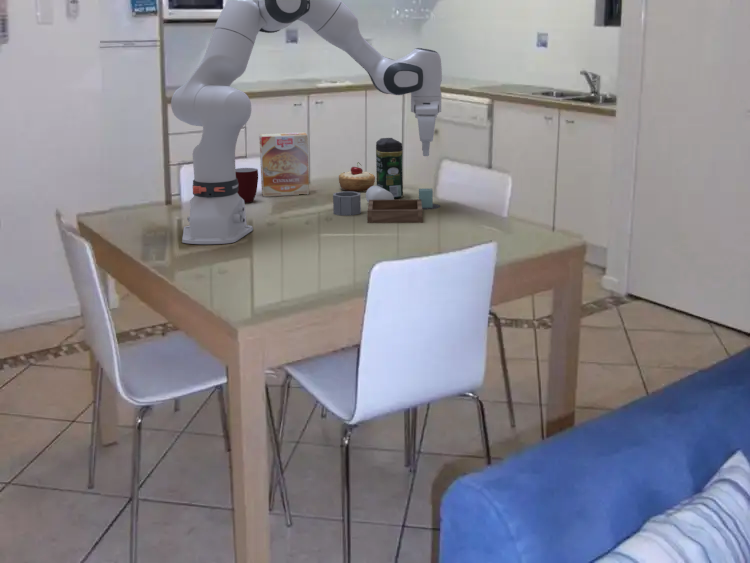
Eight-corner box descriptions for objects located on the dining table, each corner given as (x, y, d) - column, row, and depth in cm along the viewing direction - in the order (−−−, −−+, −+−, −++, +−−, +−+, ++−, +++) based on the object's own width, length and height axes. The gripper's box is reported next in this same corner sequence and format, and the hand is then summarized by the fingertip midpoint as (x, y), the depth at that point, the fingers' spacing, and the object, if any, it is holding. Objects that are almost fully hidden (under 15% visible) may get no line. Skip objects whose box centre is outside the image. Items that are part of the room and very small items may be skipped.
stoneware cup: (360, 217, 264) (359, 196, 262) (333, 217, 264) (332, 196, 263) (361, 211, 272) (360, 191, 270) (334, 211, 272) (334, 191, 270)
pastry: (334, 192, 301) (333, 165, 299) (345, 185, 312) (344, 159, 310) (369, 193, 298) (368, 166, 295) (379, 187, 309) (378, 160, 306)
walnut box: (422, 224, 254) (422, 210, 253) (367, 224, 255) (367, 210, 254) (421, 212, 269) (421, 199, 268) (369, 213, 269) (369, 199, 268)
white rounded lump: (396, 206, 274) (391, 187, 272) (377, 213, 272) (372, 194, 270) (386, 201, 282) (381, 182, 280) (368, 207, 281) (363, 189, 279)
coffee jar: (374, 194, 296) (373, 136, 291) (397, 193, 298) (397, 135, 293) (380, 200, 287) (380, 140, 282) (405, 199, 289) (405, 139, 283)
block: (432, 207, 273) (432, 191, 271) (419, 207, 273) (419, 191, 271) (432, 204, 277) (432, 188, 275) (418, 204, 277) (418, 188, 275)
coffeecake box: (263, 197, 294) (260, 136, 289) (261, 193, 301) (258, 133, 295) (309, 194, 297) (307, 134, 292) (306, 190, 304) (304, 131, 299)
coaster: (441, 211, 270) (441, 209, 270) (410, 211, 271) (410, 209, 271) (439, 205, 279) (439, 203, 279) (410, 205, 279) (410, 203, 279)
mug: (221, 203, 286) (219, 171, 283) (233, 198, 293) (231, 167, 290) (252, 204, 283) (251, 172, 280) (263, 199, 290) (262, 168, 287)
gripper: (414, 102, 276) (414, 148, 280) (415, 109, 256) (415, 158, 260) (435, 102, 276) (435, 148, 280) (438, 109, 256) (437, 158, 260)
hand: (425, 153), depth 270 cm, fingers open, 8 cm apart
